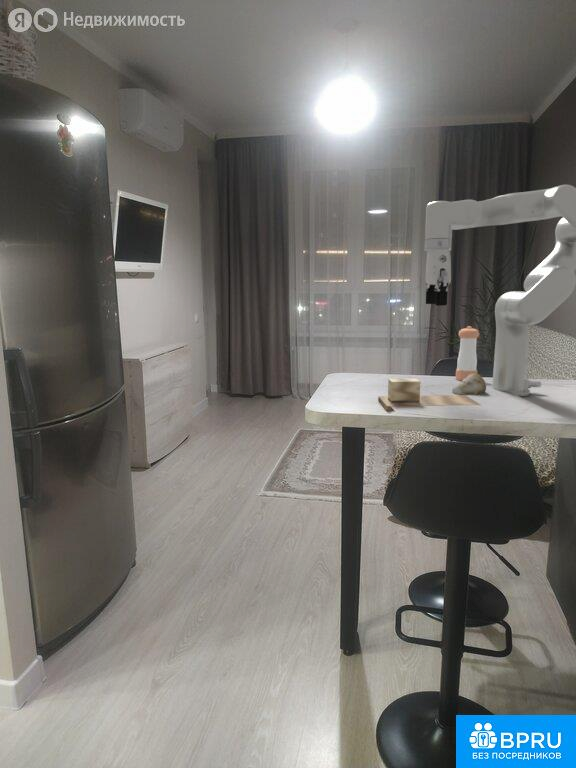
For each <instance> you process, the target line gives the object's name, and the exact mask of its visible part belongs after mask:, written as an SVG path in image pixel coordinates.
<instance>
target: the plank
mask: <svg viewBox="0 0 576 768" xmlns="http://www.w3.org/2000/svg"><path fill="white" fill-rule="evenodd" d="M377 399H378V403H379V404H380V406H381V407H383V409H384V410H385V411H386V412H395V409H394V408H393V407H408V406H409V407H421V406H422V407H424V406H426V407H428V406H429V407H430V406H481V404H480V403H479V402H477V401H475V400H474V399H473V398H470V397H469V396H467V394H456V395H455V394H453V395H451V394H450V395H445V394H444V395H420V402H409V403H391V402H390V401H389V400H388V395H385V396H384V395H383V396H381V395H379V396H378V398H377Z"/></svg>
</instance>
